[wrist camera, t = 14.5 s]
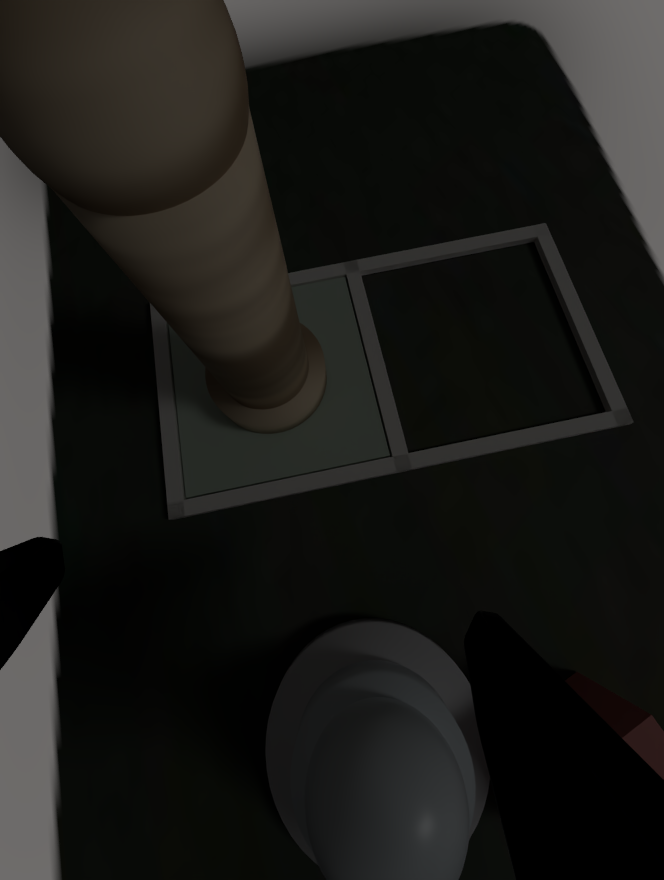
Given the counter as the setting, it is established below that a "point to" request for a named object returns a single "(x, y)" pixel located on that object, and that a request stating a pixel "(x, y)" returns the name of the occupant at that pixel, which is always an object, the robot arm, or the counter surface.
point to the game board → (341, 394)
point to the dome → (382, 777)
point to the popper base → (348, 648)
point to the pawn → (166, 181)
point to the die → (624, 720)
